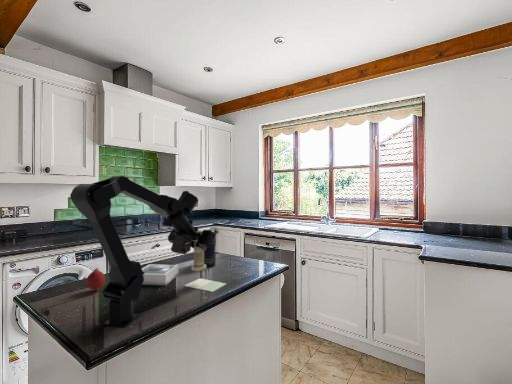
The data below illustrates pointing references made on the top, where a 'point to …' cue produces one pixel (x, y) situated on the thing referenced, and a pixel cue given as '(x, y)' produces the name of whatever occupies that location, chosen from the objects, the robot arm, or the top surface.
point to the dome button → (157, 269)
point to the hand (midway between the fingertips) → (201, 249)
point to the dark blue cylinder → (210, 255)
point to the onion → (95, 280)
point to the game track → (205, 285)
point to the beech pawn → (198, 258)
